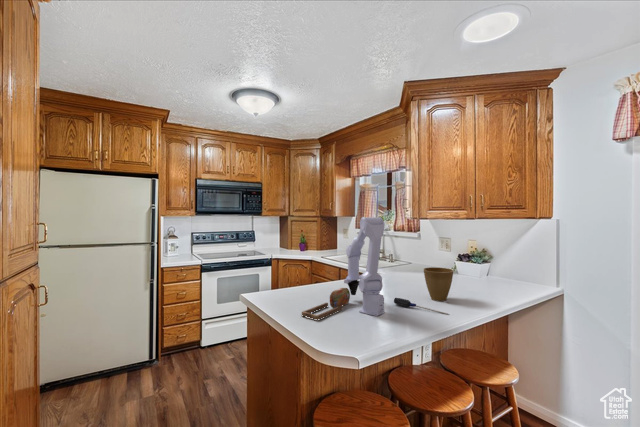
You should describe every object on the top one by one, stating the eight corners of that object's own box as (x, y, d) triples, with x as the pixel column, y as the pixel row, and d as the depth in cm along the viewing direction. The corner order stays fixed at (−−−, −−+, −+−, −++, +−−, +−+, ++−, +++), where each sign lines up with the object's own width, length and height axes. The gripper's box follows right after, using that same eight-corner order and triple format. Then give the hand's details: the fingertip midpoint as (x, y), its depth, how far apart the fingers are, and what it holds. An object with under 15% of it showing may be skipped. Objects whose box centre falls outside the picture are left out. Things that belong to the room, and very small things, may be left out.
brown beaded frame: (341, 310, 140) (341, 306, 140) (317, 321, 126) (317, 316, 126) (326, 306, 146) (326, 302, 146) (301, 316, 132) (301, 311, 132)
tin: (333, 310, 140) (333, 292, 140) (328, 309, 142) (328, 291, 142) (350, 303, 152) (350, 286, 152) (345, 302, 154) (345, 285, 154)
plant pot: (447, 295, 166) (448, 267, 166) (457, 304, 151) (457, 272, 151) (420, 295, 167) (420, 266, 167) (427, 303, 153) (427, 271, 153)
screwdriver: (450, 314, 136) (450, 305, 136) (448, 316, 133) (448, 308, 133) (395, 304, 151) (395, 296, 151) (392, 305, 148) (392, 298, 148)
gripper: (354, 266, 165) (354, 290, 165) (339, 270, 153) (339, 296, 153) (365, 267, 160) (365, 292, 160) (350, 271, 149) (350, 298, 149)
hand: (353, 294), depth 157 cm, fingers closed
